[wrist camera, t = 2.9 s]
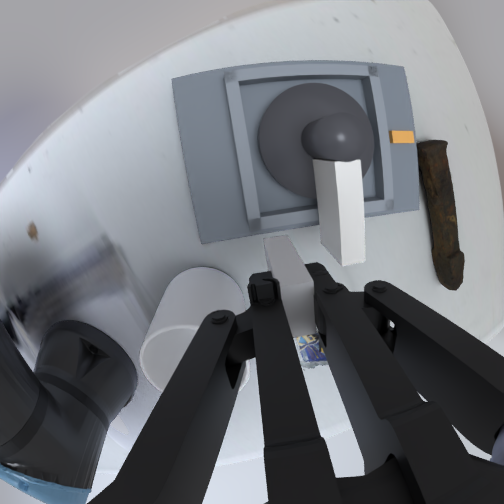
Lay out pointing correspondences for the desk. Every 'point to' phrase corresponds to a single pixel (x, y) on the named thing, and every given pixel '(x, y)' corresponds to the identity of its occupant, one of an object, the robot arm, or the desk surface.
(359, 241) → the dial
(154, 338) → the mug
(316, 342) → the snack package
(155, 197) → the desk surface
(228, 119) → the panel
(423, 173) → the dark brown lumpy bar
